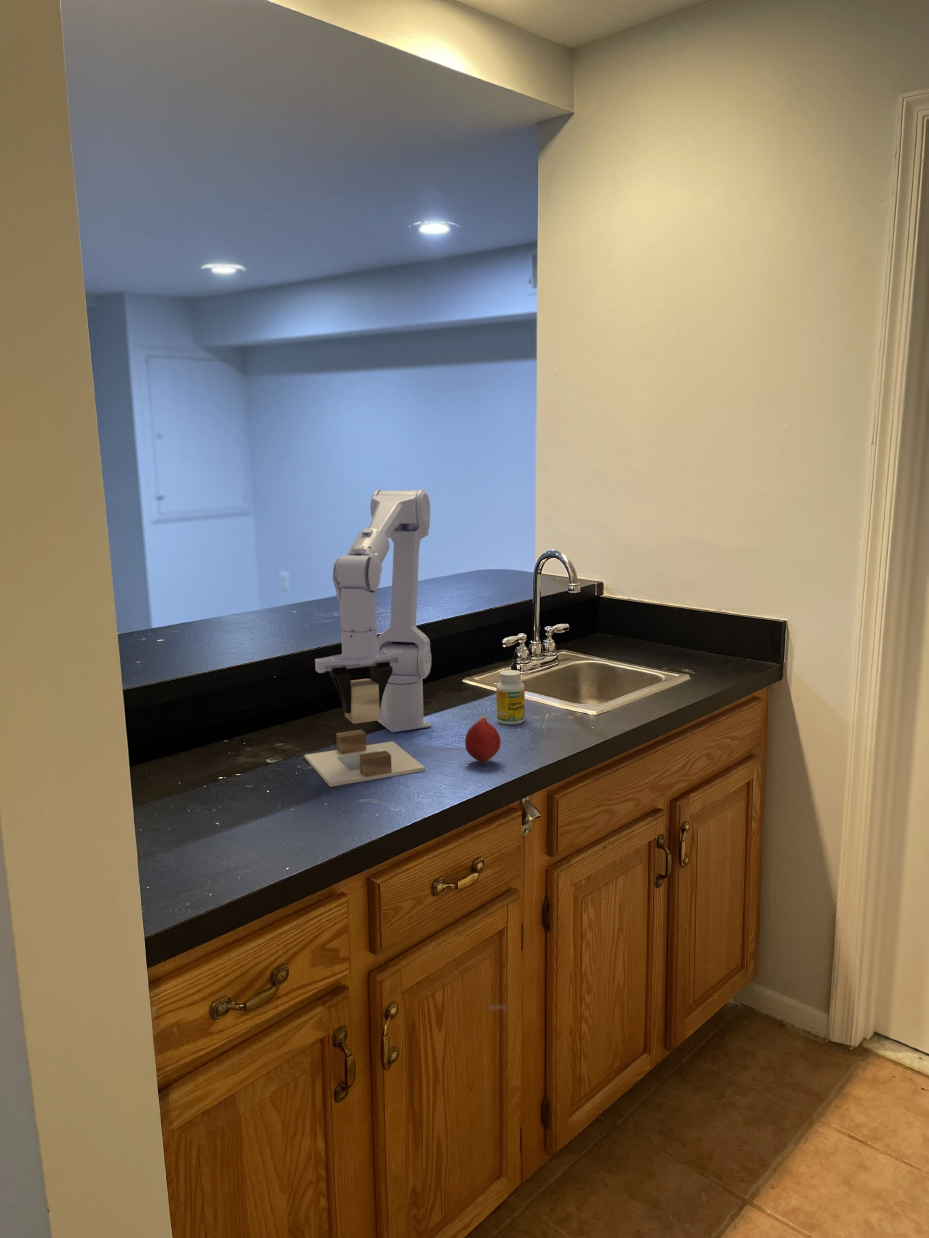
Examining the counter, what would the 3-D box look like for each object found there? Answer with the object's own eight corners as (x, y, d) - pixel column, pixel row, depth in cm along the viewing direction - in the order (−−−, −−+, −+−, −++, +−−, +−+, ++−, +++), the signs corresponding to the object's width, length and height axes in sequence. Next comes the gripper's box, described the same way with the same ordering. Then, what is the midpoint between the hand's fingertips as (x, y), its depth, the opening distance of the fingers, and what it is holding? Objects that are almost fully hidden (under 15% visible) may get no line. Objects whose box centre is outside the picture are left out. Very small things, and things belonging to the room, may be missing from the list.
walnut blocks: (337, 749, 162) (336, 733, 161) (361, 746, 163) (361, 729, 163) (364, 777, 148) (364, 759, 148) (391, 772, 150) (391, 754, 150)
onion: (475, 771, 152) (475, 724, 150) (459, 761, 157) (458, 715, 155) (506, 765, 154) (506, 718, 153) (489, 755, 159) (489, 710, 158)
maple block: (345, 716, 156) (343, 681, 154) (370, 713, 157) (369, 678, 156) (353, 723, 152) (352, 687, 150) (379, 719, 153) (378, 684, 152)
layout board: (304, 758, 159) (304, 754, 159) (393, 744, 166) (392, 740, 166) (329, 786, 146) (329, 782, 146) (424, 770, 152) (424, 766, 152)
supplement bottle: (513, 715, 182) (513, 667, 181) (530, 722, 178) (530, 673, 176) (491, 720, 179) (490, 671, 178) (507, 727, 175) (507, 677, 173)
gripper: (322, 637, 145) (326, 722, 148) (409, 628, 151) (411, 710, 154) (310, 629, 151) (313, 710, 154) (394, 621, 157) (396, 699, 160)
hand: (361, 709), depth 154 cm, fingers closed on maple block, 4 cm apart
